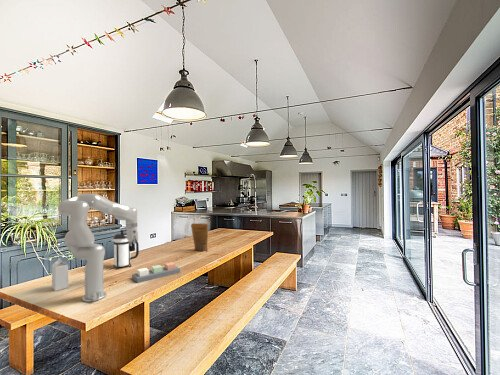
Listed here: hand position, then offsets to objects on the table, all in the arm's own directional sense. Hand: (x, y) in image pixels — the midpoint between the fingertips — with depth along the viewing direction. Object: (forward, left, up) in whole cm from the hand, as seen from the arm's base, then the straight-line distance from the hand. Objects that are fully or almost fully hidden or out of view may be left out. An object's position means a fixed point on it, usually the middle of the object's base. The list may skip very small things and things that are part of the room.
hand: (132, 250), depth 183 cm
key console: (-6, -15, -20) cm, 26 cm away
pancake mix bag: (+35, -75, -20) cm, 85 cm away
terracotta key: (-6, -25, -18) cm, 32 cm away
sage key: (-6, -15, -18) cm, 24 cm away
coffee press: (+34, -3, -20) cm, 39 cm away
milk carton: (+13, +41, -20) cm, 47 cm away
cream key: (-6, -5, -18) cm, 20 cm away
